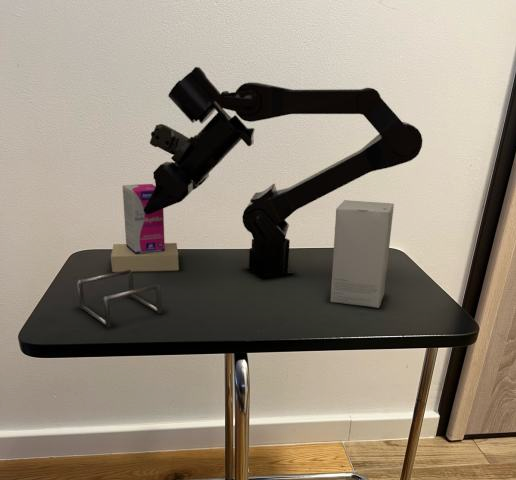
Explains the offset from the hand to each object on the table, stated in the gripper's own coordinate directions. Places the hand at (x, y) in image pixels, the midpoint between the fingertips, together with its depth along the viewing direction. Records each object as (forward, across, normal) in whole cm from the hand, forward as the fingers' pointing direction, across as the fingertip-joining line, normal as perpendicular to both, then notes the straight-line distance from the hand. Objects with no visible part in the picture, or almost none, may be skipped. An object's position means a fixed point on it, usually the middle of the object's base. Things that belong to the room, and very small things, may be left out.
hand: (152, 207), depth 98 cm
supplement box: (+7, 0, +4) cm, 8 cm away
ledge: (+9, 0, +6) cm, 11 cm away
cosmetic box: (-18, +11, +34) cm, 40 cm away
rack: (+7, +23, +8) cm, 25 cm away
